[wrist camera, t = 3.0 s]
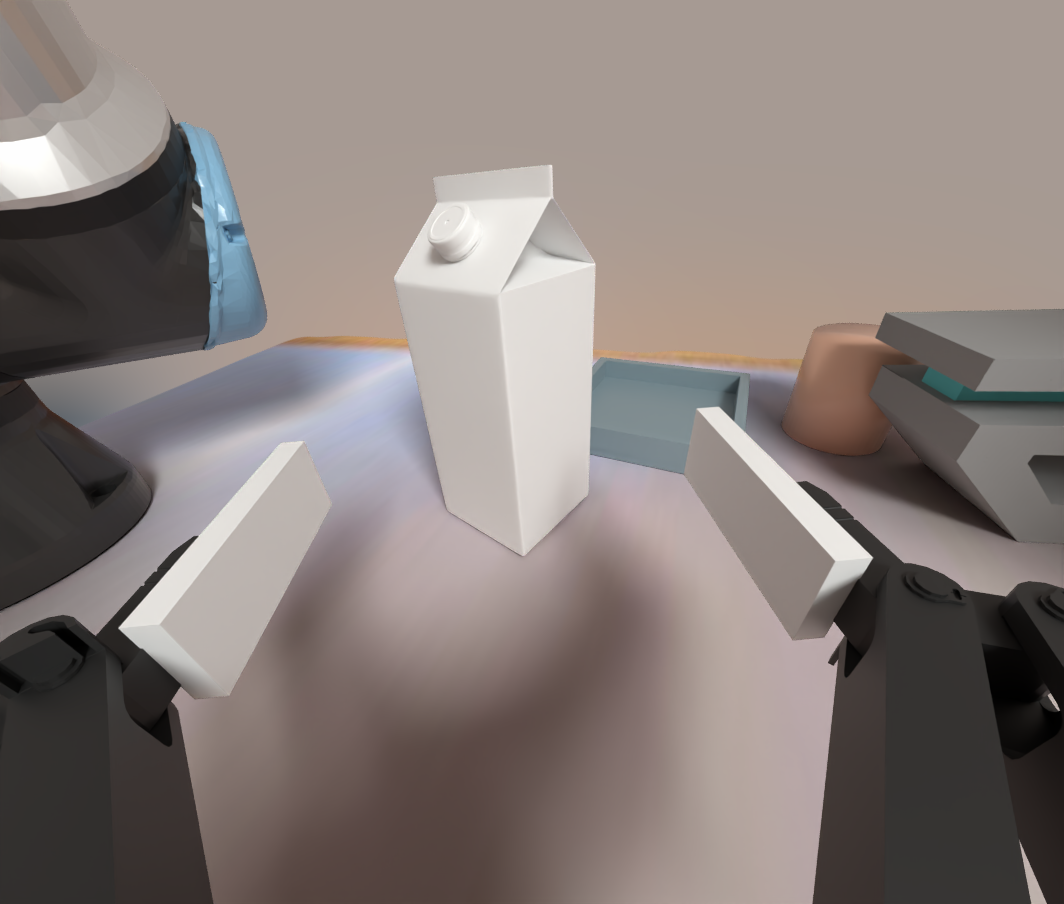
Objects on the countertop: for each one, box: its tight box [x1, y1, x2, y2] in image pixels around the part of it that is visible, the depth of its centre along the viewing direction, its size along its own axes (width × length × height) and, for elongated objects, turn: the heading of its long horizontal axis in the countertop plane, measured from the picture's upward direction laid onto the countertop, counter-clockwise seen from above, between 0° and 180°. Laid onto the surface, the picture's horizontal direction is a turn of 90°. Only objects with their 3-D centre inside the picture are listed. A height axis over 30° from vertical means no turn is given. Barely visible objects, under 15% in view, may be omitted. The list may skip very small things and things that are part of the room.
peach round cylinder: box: [781, 323, 925, 456], centre depth 31 cm, size 7×7×8 cm
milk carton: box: [394, 165, 596, 556], centre depth 22 cm, size 7×7×19 cm
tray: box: [590, 357, 750, 474], centre depth 36 cm, size 15×15×3 cm
